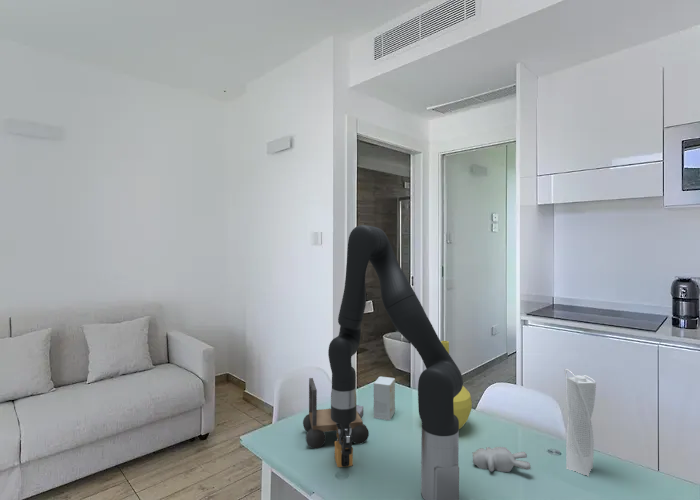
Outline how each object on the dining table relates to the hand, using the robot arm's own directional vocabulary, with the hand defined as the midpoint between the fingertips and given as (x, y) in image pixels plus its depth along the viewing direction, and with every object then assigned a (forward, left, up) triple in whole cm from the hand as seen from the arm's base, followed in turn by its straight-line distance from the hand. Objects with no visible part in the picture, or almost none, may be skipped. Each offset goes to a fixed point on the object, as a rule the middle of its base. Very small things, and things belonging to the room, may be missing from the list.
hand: (343, 460), depth 115 cm
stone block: (+28, -7, -1) cm, 29 cm away
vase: (+15, -39, -1) cm, 42 cm away
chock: (0, 0, 0) cm, 0 cm away
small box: (+28, -21, -1) cm, 35 cm away
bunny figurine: (-12, -43, -1) cm, 45 cm away
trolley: (+15, 0, 0) cm, 15 cm away
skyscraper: (-17, -65, -1) cm, 67 cm away
